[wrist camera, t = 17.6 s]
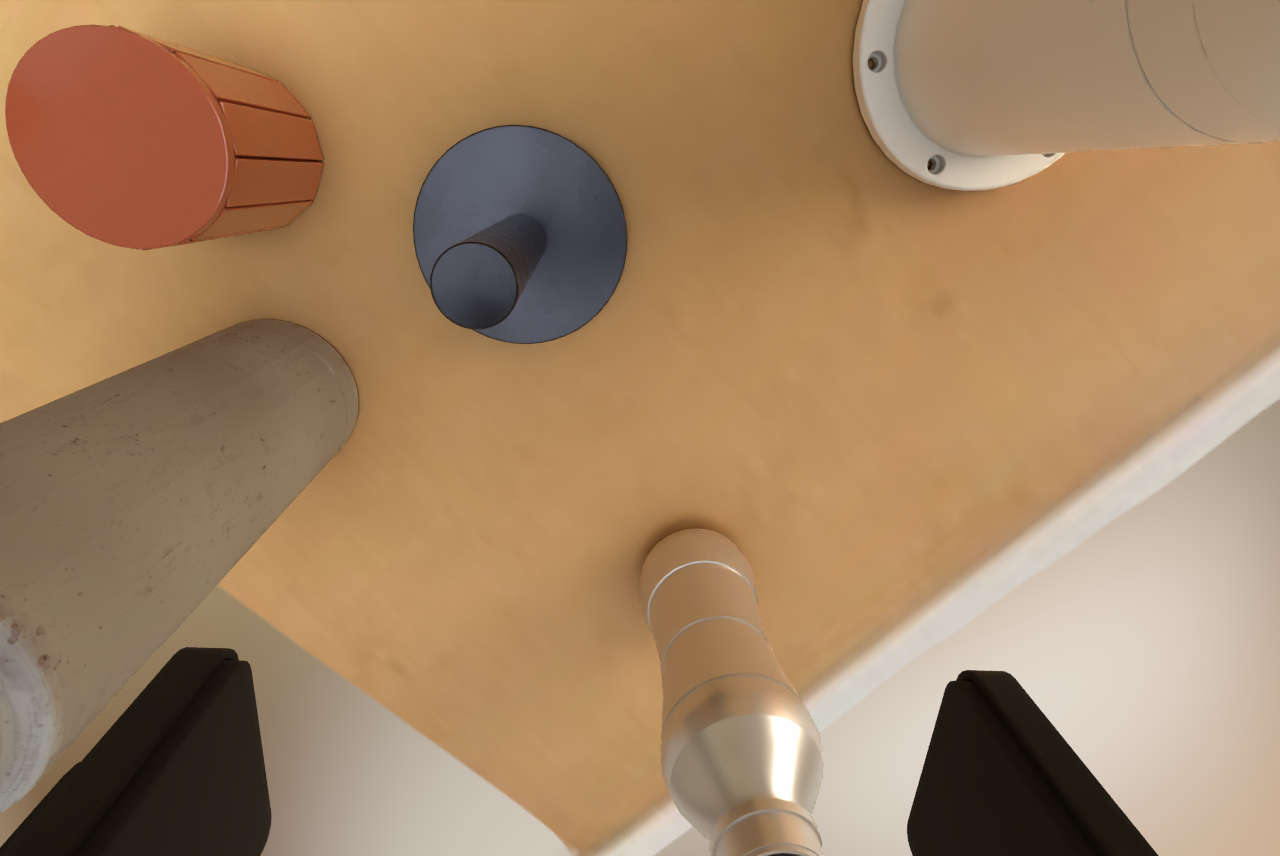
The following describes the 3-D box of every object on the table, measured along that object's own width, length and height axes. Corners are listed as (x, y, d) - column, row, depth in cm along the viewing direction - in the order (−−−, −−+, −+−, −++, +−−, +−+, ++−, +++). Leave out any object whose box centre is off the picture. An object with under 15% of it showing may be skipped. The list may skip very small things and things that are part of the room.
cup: (175, 38, 30) (17, -15, 22) (338, 105, 32) (248, 79, 23) (148, 196, 32) (-7, 203, 24) (301, 253, 34) (206, 279, 25)
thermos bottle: (268, 493, 38) (-466, 1223, 11) (161, 369, 35) (-1107, 947, 9) (391, 420, 37) (-100, 1029, 11) (291, 288, 34) (-694, 659, 8)
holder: (454, 90, 32) (336, 13, 17) (657, 177, 34) (713, 179, 19) (394, 296, 35) (247, 388, 20) (584, 366, 37) (582, 499, 22)
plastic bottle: (645, 622, 42) (691, 980, 23) (626, 524, 40) (661, 833, 21) (750, 604, 42) (880, 946, 24) (738, 504, 40) (871, 795, 21)
